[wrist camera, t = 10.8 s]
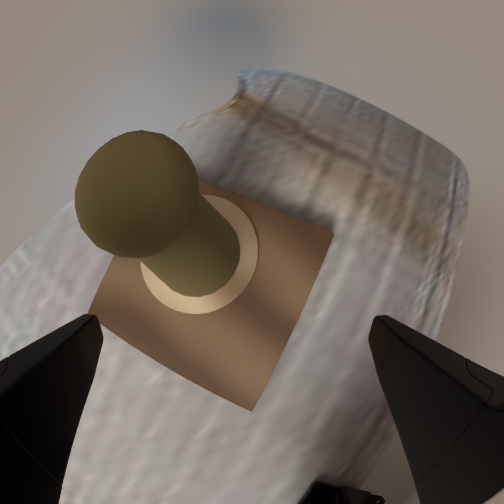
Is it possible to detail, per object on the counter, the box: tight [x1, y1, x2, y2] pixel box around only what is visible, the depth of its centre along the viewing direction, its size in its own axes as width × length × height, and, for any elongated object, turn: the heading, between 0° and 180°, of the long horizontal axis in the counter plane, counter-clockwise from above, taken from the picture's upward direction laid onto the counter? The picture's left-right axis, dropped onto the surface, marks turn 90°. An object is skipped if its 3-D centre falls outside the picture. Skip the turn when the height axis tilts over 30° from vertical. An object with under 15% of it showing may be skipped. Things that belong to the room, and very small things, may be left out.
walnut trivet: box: [87, 180, 334, 412], centre depth 20 cm, size 13×14×2 cm
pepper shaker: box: [75, 130, 240, 297], centre depth 15 cm, size 6×6×11 cm
